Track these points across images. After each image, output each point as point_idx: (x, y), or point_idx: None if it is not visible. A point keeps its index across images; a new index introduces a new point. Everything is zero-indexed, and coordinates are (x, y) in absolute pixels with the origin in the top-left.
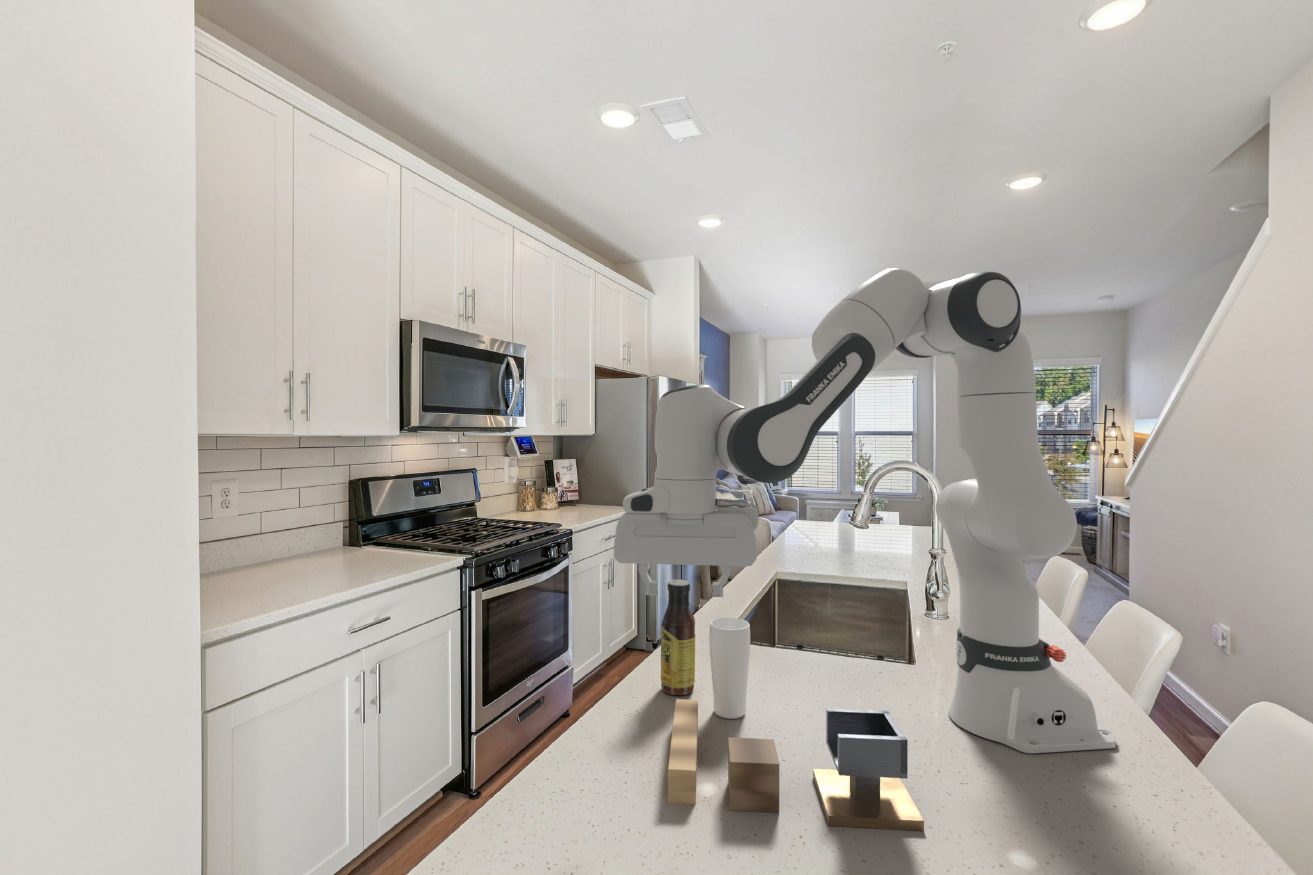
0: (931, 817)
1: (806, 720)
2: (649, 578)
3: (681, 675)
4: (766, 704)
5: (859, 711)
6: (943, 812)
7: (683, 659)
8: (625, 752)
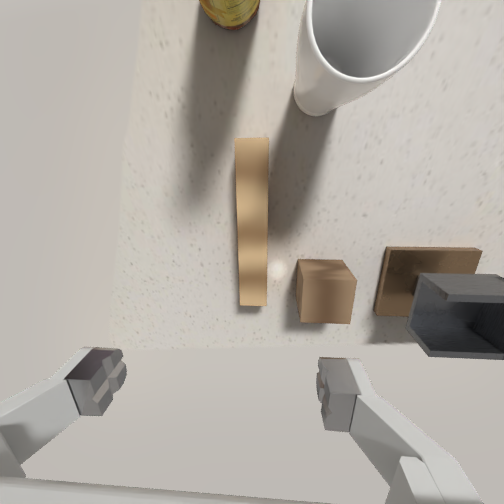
0: None
1: (433, 102)
2: (56, 411)
3: (235, 12)
4: None
5: (494, 299)
6: None
7: None
8: (189, 213)
